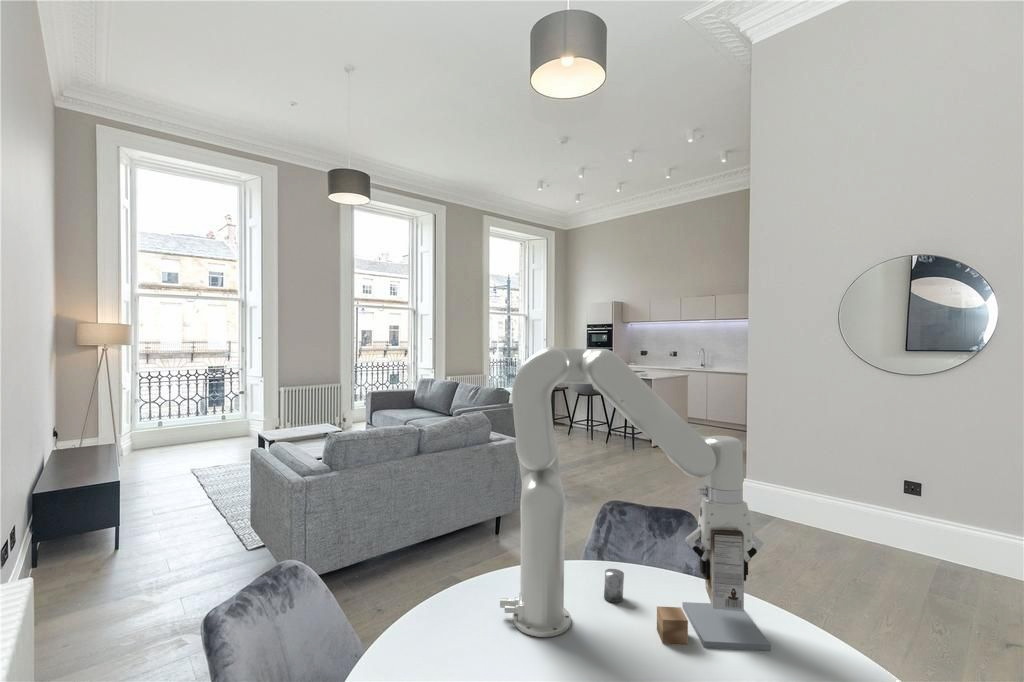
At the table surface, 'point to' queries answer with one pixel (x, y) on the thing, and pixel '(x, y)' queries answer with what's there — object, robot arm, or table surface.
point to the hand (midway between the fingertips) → (723, 576)
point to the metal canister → (613, 585)
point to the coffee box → (726, 570)
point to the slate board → (724, 628)
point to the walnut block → (672, 625)
